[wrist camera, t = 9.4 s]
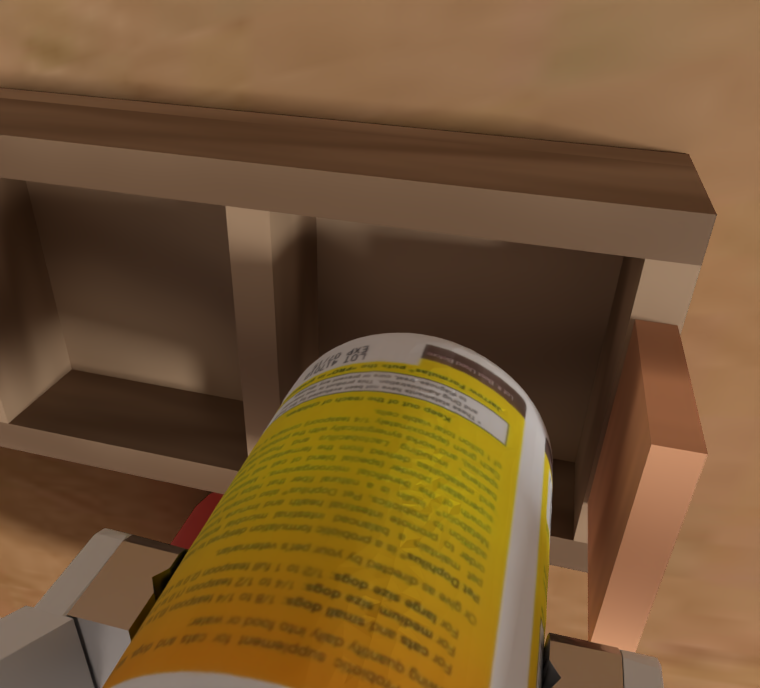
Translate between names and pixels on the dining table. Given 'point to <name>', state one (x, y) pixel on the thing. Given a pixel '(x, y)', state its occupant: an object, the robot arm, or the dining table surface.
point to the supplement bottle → (370, 537)
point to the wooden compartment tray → (351, 298)
